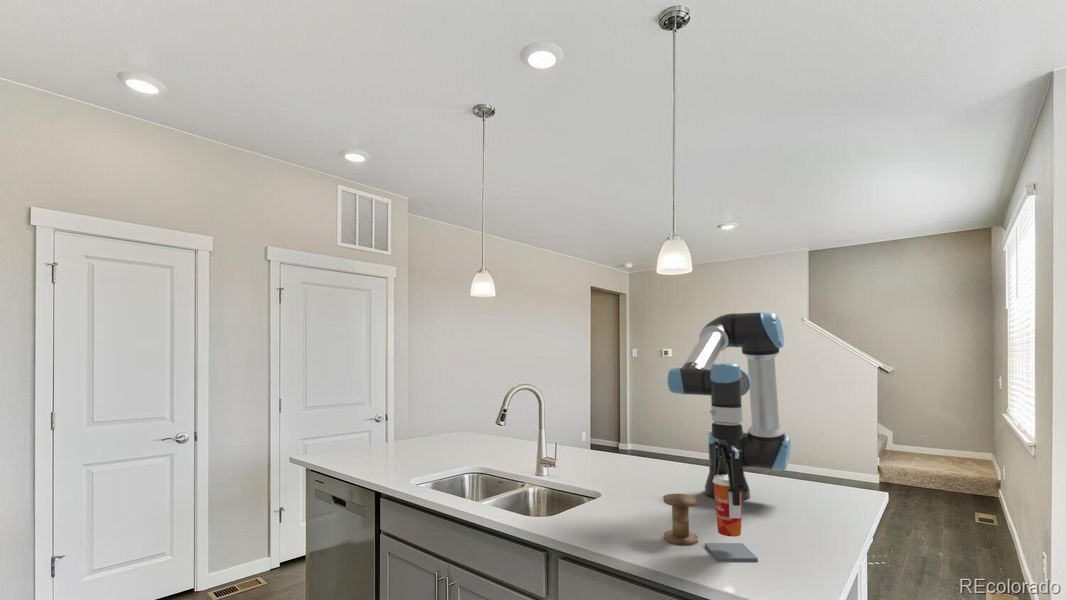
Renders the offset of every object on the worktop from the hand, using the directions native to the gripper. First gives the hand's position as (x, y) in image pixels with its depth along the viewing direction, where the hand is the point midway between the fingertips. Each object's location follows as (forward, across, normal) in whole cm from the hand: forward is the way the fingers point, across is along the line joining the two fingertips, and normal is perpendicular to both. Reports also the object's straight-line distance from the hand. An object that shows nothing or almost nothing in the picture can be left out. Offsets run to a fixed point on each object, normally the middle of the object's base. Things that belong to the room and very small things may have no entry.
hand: (729, 512), depth 139 cm
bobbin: (+10, -10, -10) cm, 17 cm away
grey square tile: (+10, 0, 0) cm, 10 cm away
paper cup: (+5, 0, 0) cm, 5 cm away
